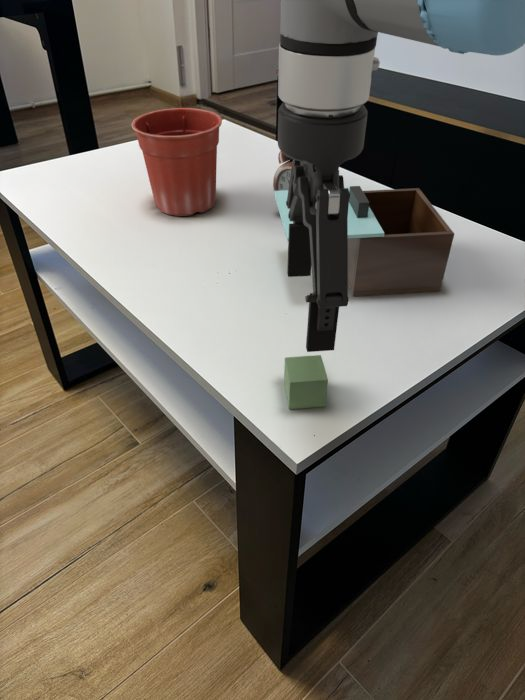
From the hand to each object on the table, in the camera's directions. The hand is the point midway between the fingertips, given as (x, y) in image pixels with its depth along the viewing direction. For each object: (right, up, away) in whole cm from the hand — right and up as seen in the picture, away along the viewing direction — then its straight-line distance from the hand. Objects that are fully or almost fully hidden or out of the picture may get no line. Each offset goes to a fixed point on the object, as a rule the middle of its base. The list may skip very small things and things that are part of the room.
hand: (308, 308), depth 59 cm
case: (+15, +9, +31) cm, 36 cm away
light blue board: (+5, +16, +24) cm, 29 cm away
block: (0, -10, +8) cm, 13 cm away
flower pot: (-21, +25, +50) cm, 60 cm away
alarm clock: (+2, +21, +45) cm, 50 cm away
